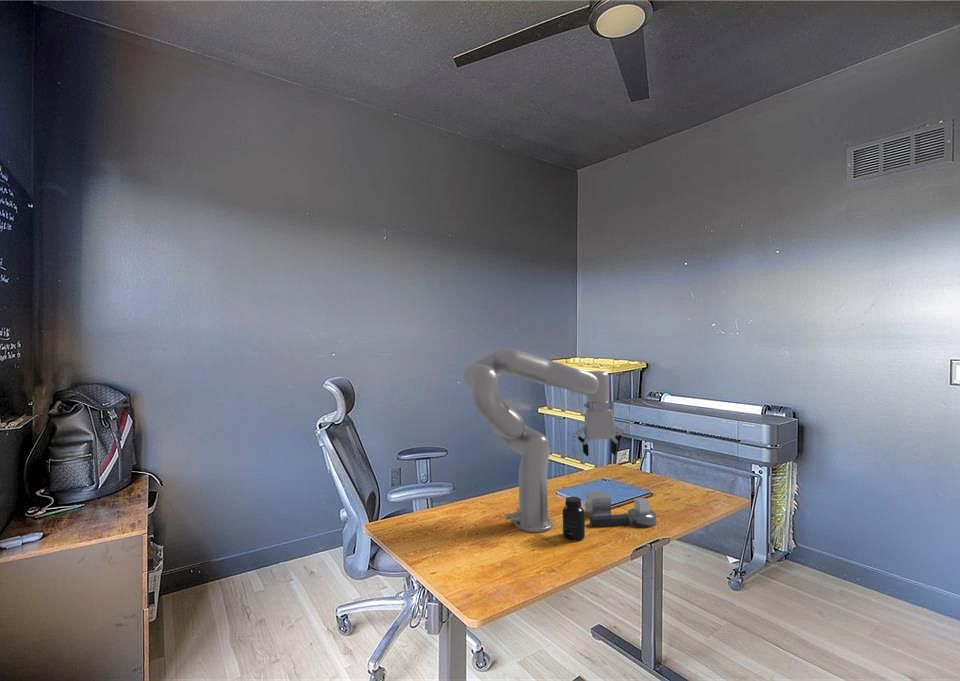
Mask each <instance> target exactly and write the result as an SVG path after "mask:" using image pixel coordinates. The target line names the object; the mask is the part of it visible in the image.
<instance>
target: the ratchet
mask: <svg viewBox="0 0 960 681" xmlns="http://www.w3.org/2000/svg"><path fill="white" fill-rule="evenodd" d="M633 502H634V507H633V508H631V509H629V510H628V511H627V512H626V513H625V512H624V513H623V514H611V515H606V516H592V517H590V516H589V524H590V526H591V527H593V528H606V527H619V526H621V527H622V526H635V527H640V528H653V527H655V526H657V513H656V512H655V511H653V510H650V509H651V508H650V506H651V505H650V503H651V502H650V500H649V499H647V498H645V497H634V501H633Z"/></svg>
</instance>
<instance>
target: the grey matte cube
mask: <svg viewBox="0 0 960 681" xmlns="http://www.w3.org/2000/svg"><path fill="white" fill-rule="evenodd" d="M584 513H586V514H588V516H589V518H590V517H592V516H606V515H612V497H611V496H610V495H609V494H607V493H606V492H605V491H604V490H595V491H584Z"/></svg>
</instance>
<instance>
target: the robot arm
mask: <svg viewBox="0 0 960 681" xmlns="http://www.w3.org/2000/svg"><path fill="white" fill-rule="evenodd" d="M504 374H506V375H511V376H515V377H517V378H520V379H524V380H527V381H531V382H534V383H537V384H541V385H543V386H544V385H545V386H549V387H553V388H555V387H556V388H560V389H564V390H567V391H568V392H571V393H573V394H579V395H583V396H586V398H587V399H586V403H583V408H585V413H584V425H583V426H582V427H580V428H579V429H576V430H575V431H574V434H575V436H576V438H577V440H579V442H581V443H582V453H583V454H584V455H585V456H586V457H588V456H589V453H590V452H589V444H588V443H589V441H590V440H592V441H593V440H594V441H596V440H611V441H610V453H611V454H612V455H613V456H616V454H617V453H616V452H618V443H619V441H620V440H621V439H622V437H623V434H624V432H625V430H624V429H622V428H621V427H618V426H616V425H615V417H614V412H613V410H612V409H611V408H610V406H611V404H610V380H609V379H610V377H609V376H610V375H609V373H608V372H607V371H605V370H592V371H585V370H582V369H578V368H577V367H576V368H575V367H572V366H568V365H565V364H562V363H559V362H556V361H553V360H550V359H546V358H543V357H541V356H537V355H535V354H531V353H529V352H526V351H525V352H524V351H522V350H519V349H514V348H501V349H498V350H496V351H493V352H492V353H491V354H489V355H486V356H485V357H483V358H481V359H478V360H476V361H475V362H472V363H471V364H469V365H468V366H467V367H466V368H465V369H464V373H463V380H464V382H465V383H466V385H467V386H468V387H470V388H471V389H472V390H471V391H472V392H471V394H472V395H471V396H472V403H473V405H474V407H475V410H476V411H477V412H478V414H479V415H480V416H482V418H484V419H485V421H487V422H488V423H487V424H488V426H489V428H490V430H491V431H492V432H493V433H494V434H495V435H496V436H498V438H500V439H501V440H502V441H503V443H505V444H506V445H508V446H509V447H510V448H511V449H512V450H513V451H515V452H516V453H518V454H519V455H521V458H520V463H519V465H518V466H519V467H518V508H517V509H516V511H515V512H514V513H513V512H512V513H509V512H508V513H505V514H504V518H505V520H506V521H507V520H510V522H513V523H514V526H515V527H516V528H517V529H519V530H521V531H524V532H529V533H541V532H546V531H548V530H550V529H552V527H553V520H552V519H551V518H549V517H548V516H549V515H548V514H549V513H548V511H549V510H548V507H549V506H548V503H549V502H548V496H549V495H548V492H549V491H548V468H549V467H548V465H549V459H550V453H551V452H550V451H551V448H550V447H551V446H550V441H549V440H548V438H547V437H546V436H545V434H543V433H542V432H540V431H538V430H536V429H534V428H531V427H530V426H527V425H526V423H525V421H524V418H523V417H522V415H521V414H520V413H518V412H517V411H516V410H514V408H512V407H511V405H509V403H507V402H506V401H505V400H504V399H503V398H502V397H501V395H500V394H499V393H498V384H499V380H498V379H499V377H500V376H502V375H504ZM586 408H587V409H586ZM616 431H617V432H618V433H617V434H616ZM582 433H584V437H582V436H581V434H582Z"/></svg>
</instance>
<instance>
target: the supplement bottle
mask: <svg viewBox="0 0 960 681" xmlns="http://www.w3.org/2000/svg"><path fill="white" fill-rule="evenodd" d="M564 504H565V506H564V507H562V535H563V536H562V537H564V539H566V540H568V541H570V542H571V541H572V542H580V541H582V540H584V539H585V537H586V531H585V530H586V527H585V524H586V523H585V522H586V520H585V513H586V512H585V508H583V507H582V499H581V498H580V497H578V496H567V497H566V498H565V503H564Z"/></svg>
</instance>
